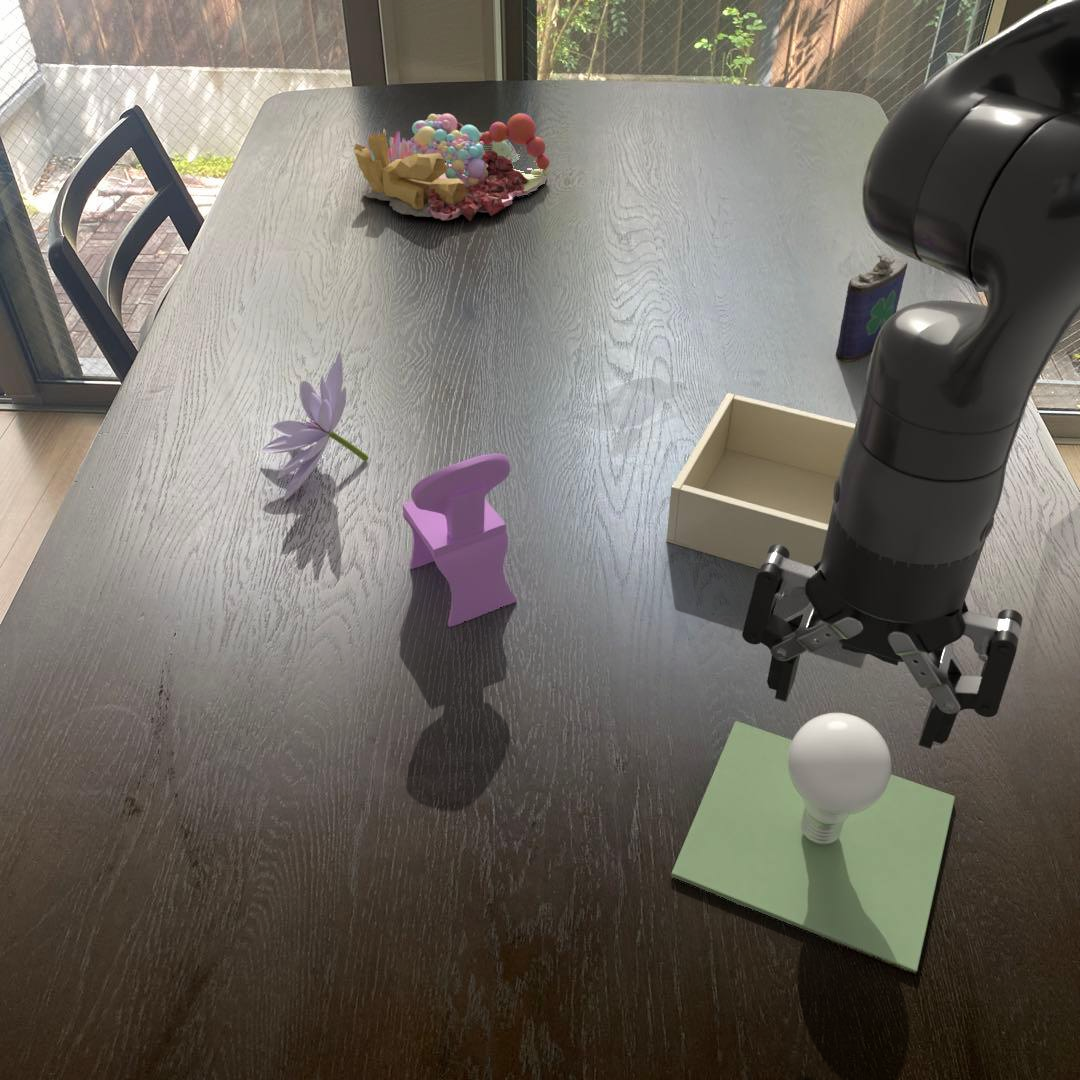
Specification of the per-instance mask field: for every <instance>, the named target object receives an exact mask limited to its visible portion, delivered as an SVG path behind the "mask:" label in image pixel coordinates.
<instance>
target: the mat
mask: <svg viewBox="0 0 1080 1080" xmlns="http://www.w3.org/2000/svg"><path fill="white" fill-rule="evenodd" d="M792 740H793V739H789V738H787V737H784V736H781V735H778V734H775V733H772V732H771V731H770V732H769V731H766V730H764V729H762V728H761V729H760V728H758V727H755V726H752V725H749V724H746V723H743V722H741V721H738V720H735V721H734V723H733V726H732V728H731V730H730V733H729V735H728V737H727V740H726V742H725V745H724V747H723V750H722V752H721V754H720V757H719V758H718V762H717V763H716V766H715V768H714V770H713V774H712V775H711V778H710V780H709V783H708V785H707V787H706V790H705V793H704V795H703V797H702V799H701V802H700V804H699V807H698V809H697V811H696V813H695V816H694V818H693V820H692V823H691V825H690V828H689V830H688V833H687V835H686V837H685V840H684V842H683V845H682V846H681V849H680V852H679V854H678V857H677V859H676V862H675V864H674V866H673V868H672V871H671V874H670V877H671V876H672V877H673V878H677V879H679V880H682V881H684V882H687V883H690V884H692V885H694V886H696V887H699V888H701V889H703V890H705V891H704V892H706V891H707V892H706V893H708V892H711V893H714V894H716V895H717V896H716V895H715V896H716V897H718V896H720V897H719V898H721V897H723V898H725V899H727V900H726V901H728V900H729V901H728V902H730V901H732V902H731V903H733V902H734V903H733V904H735V903H736V904H735V905H738V906H740V905H741V907H743V906H744V907H743V908H745V907H748V908H750V909H752V910H751V911H753V910H755V911H758V912H761V913H763V914H766V915H768V916H771V917H773V918H776V919H778V920H781V921H784V922H786V923H788V924H791V925H792V924H793V925H795V926H798V927H800V928H803V929H805V930H808V931H810V932H813V933H815V934H818V935H821V936H823V937H826V938H828V939H831V940H833V941H836V942H839V943H841V944H844V945H847V946H849V947H852V948H855V949H857V950H860V951H863V952H865V953H868V954H871V955H874V956H876V957H879V958H881V959H882V960H885V961H888V962H890V963H893V964H896V965H898V966H900V967H902V968H905V969H907V970H910V971H913V972H918V969H919V964H920V960H921V955H922V951H923V947H924V942H925V939H926V938H925V937H926V933H927V928H928V923H929V919H930V914H931V910H932V904H933V900H934V895H935V892H936V887H937V882H938V879H939V873H940V869H941V863H942V859H943V855H944V850H945V845H946V841H947V836H948V831H949V828H950V823H951V818H952V814H953V810H954V809H953V808H954V805H955V799H956V796H955V795H952V794H949V793H947V792H944V791H941V790H938V789H936V788H935V789H934V788H932V787H929V786H926V785H923V784H920V783H917V782H915V781H911V780H909V779H906V778H904V777H901V776H897V775H894V774H892V773H891V778H890V782H889V784H888V787H887V789H886V791H885V792H884V794H883V795H882V797H881V798H880V799H879V800H878V801H877V802H876V803H875V804H874V805H873V806H871V807H870V808H868V809H866V810H864V811H862V812H859V813H856V814H852V815H850V816H849V817H848V818H847V819H846V820H844V824H843V827H842V830H841V834H840V836H839V838H838V839H837V840H836V841H835V842H833V843H831V844H817V843H815V842H813V841H811V840H809V839H808V838H807V837H806V836H805V835H804V834H803V832H802V830H801V819H802V815H803V811H804V807H805V806H804V803H803V798H802V797H801V796H800V795H799V793H798V792H797V790H796V789H795V787H794V785H793V783H792V781H791V778H790V775H789V771H788V752H789V748H790V745H791V742H792ZM673 878H672V879H673ZM696 887H695V888H696ZM701 889H700V890H701ZM703 890H702V891H703ZM711 893H710V894H711ZM723 898H722V899H723ZM725 899H724V900H725ZM748 908H747V909H748ZM750 909H749V910H750ZM755 911H754V912H755ZM758 912H757V913H758ZM763 914H762V915H763ZM768 916H767V917H768ZM773 918H772V919H773ZM778 920H777V921H778ZM788 924H787V925H788Z"/></svg>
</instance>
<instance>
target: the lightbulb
mask: <svg viewBox="0 0 1080 1080" xmlns="http://www.w3.org/2000/svg"><path fill="white" fill-rule="evenodd" d="M791 740H792V742H791V745H790V748H789V752H788V771H789V775H790V778H791V781H792V783H793V785H794V787H795V789H796V790H797V792H798V793H799V795H800V796H801V797H802V798H803V803H804V806H805V807H804V811H803V815H802V819H801V830H802V832H803V834H804V835H805V836H806V837H807V838H808V839H809V840H811V841H813V842H815V843H817V844H831V843H833V842H835V841H836V840H837V839H838V838H839V836H840V834H841V830H842V827H843V824H844V820H846V819H847V818H848V817H849V816H850V815H852V814H856V813H859V812H862V811H864V810H866V809H868V808H870V807H871V806H873V805H874V804H875V803H876V802H877V801H878V800H879V799H880V798H881V797H882V795H883V794H884V792H885V791H886V789H887V787H888V784H889V782H890V778H891V774H892V770H893V763H892V755H891V752H890V749H889V746H888V744H887V741H886V740H885V739H884V737H883V735H882V734H881V733H880V732H879V730H878V729H876V727H875V726H873V725H872V724H871V723H869V722H868V721H867V720H865V719H864V718H861V717H860V716H857V715H854V714H851V713H846V712H828V713H824V714H823V713H822V714H820V715H817V716H815V717H813V718H811V719H810V720H808V721H807V722H805V723H804V724H803V725H802V726H801V727H800V728H798V731H797V732H796V733H795V734H794V735H793V738H792V739H791Z"/></svg>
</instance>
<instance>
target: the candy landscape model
mask: <svg viewBox="0 0 1080 1080" xmlns="http://www.w3.org/2000/svg"><path fill="white" fill-rule="evenodd" d="M411 131H412V133H413V134H414V135H413V136H412V137H411V138H410V140H409V139H407V140H406V139H405V137H402V140H401V131H400V130H399V131H398V130H396V132H395V136H394V137H392V136H389V139H388V140H387V132H386V128H383V130H382V133H381V132H380V130H379V131H378V133H373V134H371V132H369V133H368V135H367V140H366V146H364V145H362V144H361V145H360V144H358V143H356V144H355V145H354V148H353V149H352V150H353V153H354V156H355V158H356V160H357V161H356V162H357V164H358V168H359V170H360V171H361V172H362V175H363V178H364V179H365V180H366V181H367V184H366V183H364V184H365V185H364V184H363V186H362V188H361V190H360V192H361V193H363V196H364V197H366V198H369V199H377V200H379V201H386V202H387V201H388V202H389V206H390V207H392V208H391V209H392V210H393V211H395V212H397V213H399V214H400V215H412V216H414V217H422V218H423V217H426V218H431V217H432V218H434V219H439V220H441V221H449V220H450V221H451V220H454V219H457V218H459V217H460V216H461V215H463V216H464V217H465V218H466V219H467V220H468V221H469V222H471V221H472V220H473V218H474V217H475V215H476V213H477V212H478V213H488V214H489V216H490V217H492V216H494V215H497V213H499V212H501V211H502V210H505V209H506V207H509V206H511V205H513V201H512V200H514V198H513V197H515V196H520V195H522V194H528V193H529V192H530V191H531V190H533V189H535V188H537V185H538V184H540V183H541V182H542V180H545V177H534V176H542V175H540V174H543V175H544V176H547V177H548V176H549V174H550V172H549V170H548V168H549V166H550V159H549V157H548V156H546V155H545V154H544V153H545V152H546V149H547V147H546V142H545V140H543V139H542V137H540V136H535V135H536V131H537V127H536V123H535V121H534V120H533V118H532V116H530V115H528V114H527V113H523V112H521V113H515V114H514V115H512V116H511V117H510V118H509V119H508V121H507V123H506V124H505V123H504V122H501V121H495V122H494V123H492V124H491V125H490V127H489V130H487V131H483V132H482V131H479V129H478V128H477V127H476V126H474V125H472V124H465V125H463V124H462V123H461V122H459V121H458V119H457V118H456V117H455V116H454V115H453V114H451V113H448V112H447V113H443V114H435V113H430V114H428V116H427V119H425V120H422V119H421V120H417V121H415V122H414V123H413V124H412V126H411ZM507 138H509V139H507ZM511 142H512V143H513V144H515V145H518V146H524V145H525V151H526V153H527V155H529V156H530V157H532V158H534V159H535V158H536V159H535V162H536V165H537V167H538V168H539V169H534V170H533V169H532V168H527V170H532V171H531V174H525V173H521V172H524V171H520V170H516V169H513V168H514V166H513V164H512V163H513V162H516V161H517V160H519V159H520V158H519V157H520V156H518V155H519V154H517V150H516V148H515V147H514V146H513V145H512V143H511ZM388 143H389V144H388ZM389 146H390V147H389ZM445 161H446V163H445ZM450 163H451V164H450ZM540 169H541V170H540ZM542 170H543V171H542ZM368 182H369V183H368ZM510 204H511V205H510Z"/></svg>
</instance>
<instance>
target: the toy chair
mask: <svg viewBox="0 0 1080 1080" xmlns="http://www.w3.org/2000/svg"><path fill="white" fill-rule="evenodd" d="M510 472H511V464H510V460H509V457H508V456H507V455H505V454H502V453H487V454H482V455H478V456H477V455H476V456H474V457H470V458H467V459H465V460H462V461H459V462H456V463H453V464H450V465H448V466H445V467H443V468H440V469H438V470H436V471H435V472H433V473H431V474H429V475H427V476H425V477H424V478H423V479H421V480H419V482H417V483H416V484H415V485H414V487H412V489H411V493H410V497H411V501H408V502H405V503H402V506H401V507H402V517H403V519H404V520H405V521H406V523H407V524H408V525H409V527H410V528H411V531H412V537H413V538H412V539H413V540H412V541H413V542H412V544H413V545H412V551H411V556H410V563H409V568H410V569H411V570H414V569H417V568H419V567H422V566H426V565H427V564H431V563H433V562H434V563H435V565H436V567H437V569H438V570H439V572H440V573H441V574H442V575H443V576H444V578H445V579H446V581H447V583H448V584H449V585H448V586H449V588H450V593H451V604H450V609H449V616H448V620H447V626H448V627H449V628H452V627H455V626H458V625H460V624H463V623H465V622H464V621H466V622H468V621H471V620H473V619H476V618H479V617H480V616H483V614H484V615H486V614H488V612H489V613H491V612H494V611H496V610H499V609H501V608H500V607H502V608H504V607H506V605H507V606H509V605H512V604H514V603H516V602H517V601H518V599H517V598H516V597H515V595H514V593H513V592H512V590H511V589H510V587H509V585H508V583H507V581H506V579H505V575H504V563H505V559H506V553H507V550H508V549H507V548H508V544H509V537H508V534H507V524H506V522H505V521H504V520H503V519H502V517H501V515H500V514H499V513H498V512H497V511H496V510H495V508H494V507H493V506H491V504H490V503H489V501H488V499H486V496H487V495H488V494H489V493H490V492H491V491H492V490H493V489H494V488H495V487H497V486H498V485H500V484H501V483H503V482H504V481H505V480H506V479H507V478H508V477H509V475H510ZM503 606H504V607H503ZM451 626H452V627H451Z"/></svg>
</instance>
